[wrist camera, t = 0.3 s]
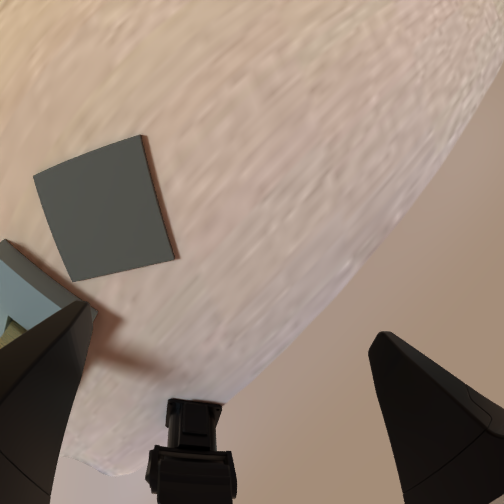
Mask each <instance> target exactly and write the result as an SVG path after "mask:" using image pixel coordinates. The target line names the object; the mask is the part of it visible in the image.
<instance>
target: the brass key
mask: <svg viewBox="0 0 504 504" xmlns="http://www.w3.org/2000/svg"><path fill="white" fill-rule="evenodd" d="M26 331H28V330H26V329H25V328H24V327H22V326H21V325H20V324H18V323H17V322H16V321H15V320H13V321H12V322H11V323H10V325H9V326H8V327H7V329H6V330H5V332H4V333H3V335H2V336H1V337H0V349H1V348H2V347H4V346H5V345H7V344H8V343H10V342H11V341H13V340H14V339H16V338H17V337H19V336H20V335H22V334H23V333H25V332H26Z"/></svg>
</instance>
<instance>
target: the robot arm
mask: <svg viewBox="0 0 504 504" xmlns="http://www.w3.org/2000/svg"><path fill="white" fill-rule="evenodd" d="M92 331H93V322H92V315H91V307H90V304H89V303H88V302H85V301H80V300H75V301H73V302H72V303H70V304H69V305H67V306H65V307H64V308H62V309H61V310H59V311H57V312H56V313H54V314H53V315H51V316H49V317H48V318H46V319H45V320H43V321H42V322H40V323H39V324H37V325H35V326H34V327H32V328H31V329H29V330H28V331H26V332H25V333H23V334H22V335H20V336H19V337H17V338H16V339H14V340H13V341H11V342H10V343H8V344H7V345H5V346H4V347H2V348H1V349H0V504H50V495H51V491H52V485H53V480H54V475H55V470H56V465H57V461H58V457H59V453H60V449H61V445H62V441H63V437H64V433H65V429H66V426H67V422H68V419H69V415H70V412H71V408H72V405H73V402H74V399H75V396H76V392H77V389H78V386H79V383H80V380H81V377H82V373H83V369H84V364H85V360H86V356H87V351H88V347H89V343H90V339H91V335H92ZM368 356H369V361H370V366H371V370H372V375H373V380H374V385H375V390H376V394H377V398H378V401H379V404H380V408H381V411H382V414H383V418H384V421H385V425H386V428H387V432H388V436H389V439H390V443H391V447H392V451H393V455H394V458H395V462H396V466H397V471H398V474H399V479H400V483H401V488H402V492H403V493H404V494H403V498H404V502H405V504H504V409H503V408H502V407H500V406H499V405H497V404H495V403H493V402H492V401H490V400H489V399H487V398H486V397H484V396H483V395H481V394H479V393H478V392H477V391H475V390H474V389H472V388H471V387H470V386H468V385H467V384H465V383H463V382H462V381H461V380H459V379H458V378H457V377H455V376H454V375H452V374H451V373H450V372H448V371H447V370H445V369H444V368H442V367H441V366H440V365H438V364H437V363H435V362H434V361H432V360H431V359H429V358H428V357H427V356H425V355H424V354H422V353H421V352H419V351H418V350H416V349H415V348H414V347H412V346H411V345H409V344H408V343H406V342H405V341H404V340H402V339H401V338H399V337H398V336H396V335H395V334H393V333H392V332H388V331H382V332H379V333H378V334H377V336H376V338H375V339H374V341H373V343H372V345H371V346H370V348H369V351H368ZM221 411H222V406H221V405H214V404H205V403H197V402H189V401H182V400H175V399H169V400H168V404H167V414H166V425H165V426H166V427H167V428H169V430H168V445H167V447H163V446H160V445H155V447H154V449H153V450H150V451H149V461H148V466H147V472H146V476H145V480H146V481H147V482H148V483H149V484H150V488H151V492H152V494H157V503H158V504H233V503H232V499H235V498H236V495H237V478H236V472H235V468H234V463H233V458H232V453H231V451H226V452H225V451H217V446H216V425H217V423H218V420H219V417H220V414H221Z"/></svg>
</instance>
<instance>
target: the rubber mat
mask: <svg viewBox="0 0 504 504" xmlns="http://www.w3.org/2000/svg"><path fill="white" fill-rule="evenodd" d="M33 178H34V182H35V185H36V189H37V192H38V195H39V198H40V201H41V204H42V207H43V210H44V213H45V216H46V219H47V222H48V225H49V227H50V230H51V233H52V235H53V238H54V240H55V243H56V245H57V248H58V250H59V253H60V255H61V258H62V260H63V262H64V265H65V267H66V269H67V271H68V274H69V276H70V278H71V280H72V282H76V281H80V280H85V279H89V278H94V277H98V276H103V275H107V274H112V273H116V272H121V271H125V270H130V269H134V268H139V267H143V266H148V265H152V264H157V263H161V262H166V261H171V260H174V259H175V256H174V253H173V250H172V247H171V244H170V241H169V237H168V234H167V231H166V227H165V224H164V221H163V217H162V214H161V210H160V207H159V203H158V200H157V196H156V193H155V189H154V185H153V182H152V178H151V174H150V170H149V166H148V162H147V158H146V154H145V150H144V146H143V142H142V138H141V135H137V136H134V137H131V138H128V139H125V140H122V141H119V142H116V143H113V144H110V145H107V146H104V147H102V148H99V149H96V150H93V151H91V152H88V153H85V154H83V155H80V156H78V157H75V158H73V159H70V160H68V161H65V162H63V163H61V164H58V165H56V166H54V167H51V168H49V169H47V170H45V171H42V172H40V173H38V174H36V175H34V176H33Z"/></svg>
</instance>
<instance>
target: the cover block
mask: <svg viewBox="0 0 504 504" xmlns="http://www.w3.org/2000/svg"><path fill="white" fill-rule="evenodd" d="M75 300H80V299H79V298H78V297H76V296H75V295H73V294H72V293H71V292H69V291H68V290H67V289H65V288H64V287H63V286H61V285H60V284H59V283H57V282H56V281H55V280H53V279H52V278H51V277H49V276H48V275H47V274H46V273H44V272H43V271H42V270H40V269H39V268H38V267H37V266H36V265H34V264H33V263H32V262H31V261H29V260H28V259H27V258H26V257H25V256H23V255H22V254H21V253H20V252H19V251H18V250H16V249H15V248H14V247H13V246H12V245H11V244H10V243H8V242H7V241H6V240H5V239H4V240H3V241H1V242H0V337H1V336H2V335H3V333H4V332H5V330H6V329H7V327H8V326H9V325H10V323H11V322H12V321H13V320H15V321H16V322H17V323H18V324H20V325H21V326H22V327H24V328H25V329H26V330H29V329H31V328H32V327H34V326H35V325H37V324H39V323H40V322H42V321H43V320H45V319H46V318H48V317H49V316H51V315H53V314H54V313H56V312H57V311H59V310H61V309H62V308H64V307H65V306H67V305H69V304H70V303H72V302H73V301H75ZM80 301H82V300H80ZM90 307H91V306H90ZM97 313H98V311H96V310H95V309H94V308H92V307H91V315H92V322H93V321H94V319H95V317H96V315H97Z"/></svg>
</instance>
